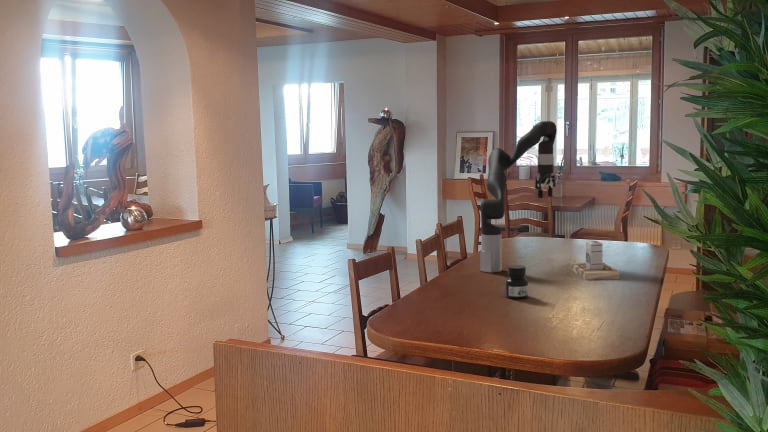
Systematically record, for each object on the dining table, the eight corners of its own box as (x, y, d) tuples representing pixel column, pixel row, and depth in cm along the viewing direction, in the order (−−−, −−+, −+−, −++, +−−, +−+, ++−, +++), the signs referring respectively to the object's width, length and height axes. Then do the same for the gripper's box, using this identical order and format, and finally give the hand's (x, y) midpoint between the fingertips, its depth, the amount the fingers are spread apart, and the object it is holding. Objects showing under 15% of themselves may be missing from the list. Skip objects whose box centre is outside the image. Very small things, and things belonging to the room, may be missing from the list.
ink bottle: (510, 300, 270) (510, 269, 268) (500, 295, 278) (500, 265, 277) (533, 298, 273) (533, 267, 271) (522, 293, 281) (522, 263, 279)
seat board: (619, 278, 303) (619, 271, 303) (584, 279, 303) (584, 272, 302) (602, 268, 325) (603, 261, 324) (570, 269, 325) (570, 262, 324)
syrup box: (602, 275, 311) (603, 242, 310) (590, 275, 311) (590, 243, 309) (597, 272, 317) (598, 240, 315) (585, 273, 316) (585, 241, 315)
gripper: (544, 164, 327) (544, 199, 329) (560, 162, 337) (560, 196, 339) (530, 164, 332) (530, 198, 334) (546, 162, 342) (546, 195, 344)
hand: (545, 197), depth 336 cm, fingers open, 8 cm apart
